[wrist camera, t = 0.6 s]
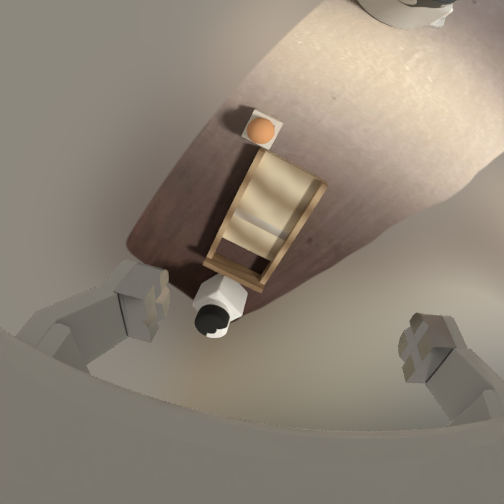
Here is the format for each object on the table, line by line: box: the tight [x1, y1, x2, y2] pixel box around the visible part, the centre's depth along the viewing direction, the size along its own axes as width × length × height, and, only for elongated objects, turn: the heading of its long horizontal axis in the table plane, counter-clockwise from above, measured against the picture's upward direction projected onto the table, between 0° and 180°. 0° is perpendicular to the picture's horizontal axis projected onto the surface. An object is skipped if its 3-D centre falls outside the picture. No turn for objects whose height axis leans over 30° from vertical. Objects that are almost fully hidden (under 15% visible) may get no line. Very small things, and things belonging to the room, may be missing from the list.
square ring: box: [241, 109, 284, 150], centre depth 42 cm, size 5×5×2 cm
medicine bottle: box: [192, 273, 247, 338], centre depth 55 cm, size 7×7×12 cm
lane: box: [203, 147, 328, 293], centre depth 50 cm, size 23×12×4 cm, turn 154°
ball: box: [247, 118, 275, 144], centre depth 40 cm, size 4×4×4 cm
